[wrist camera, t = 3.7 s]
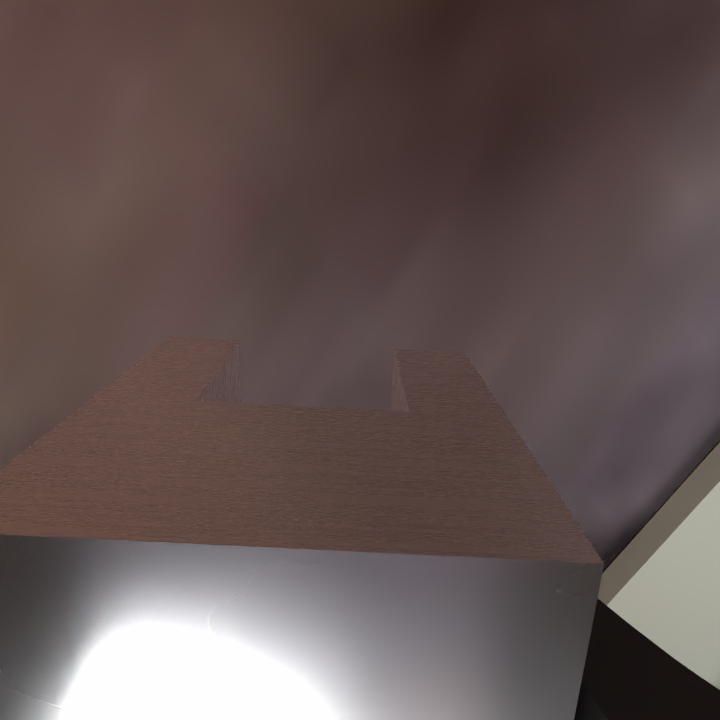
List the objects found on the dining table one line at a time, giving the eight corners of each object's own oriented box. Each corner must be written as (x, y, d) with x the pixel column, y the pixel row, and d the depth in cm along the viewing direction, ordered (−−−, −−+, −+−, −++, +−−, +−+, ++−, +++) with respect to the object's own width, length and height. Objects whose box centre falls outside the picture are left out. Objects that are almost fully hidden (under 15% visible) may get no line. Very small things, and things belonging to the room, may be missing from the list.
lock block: (432, 646, 12) (505, 1078, 6) (177, 634, 12) (5, 1064, 6) (465, 353, 10) (603, 563, 4) (169, 336, 10) (-78, 530, 4)
